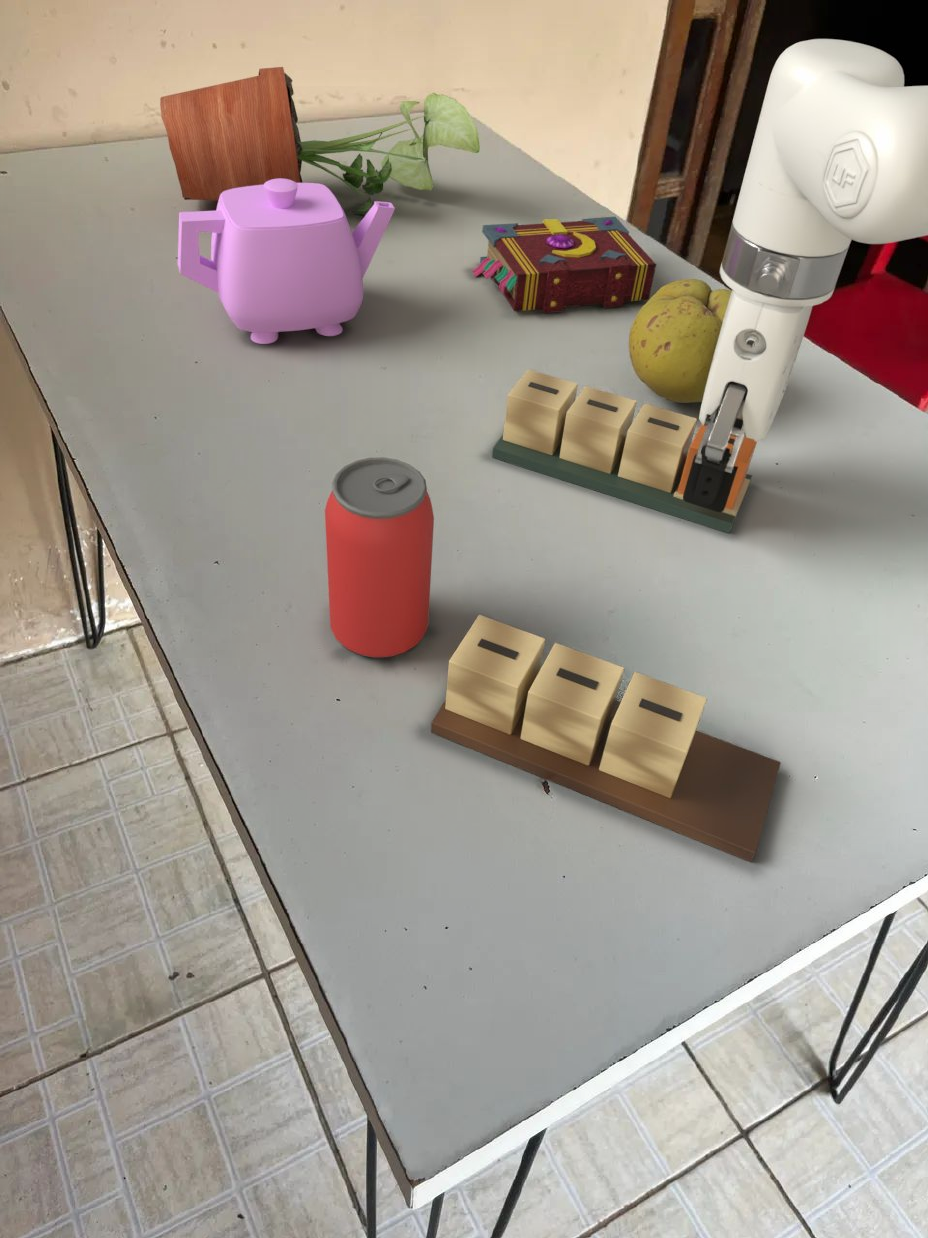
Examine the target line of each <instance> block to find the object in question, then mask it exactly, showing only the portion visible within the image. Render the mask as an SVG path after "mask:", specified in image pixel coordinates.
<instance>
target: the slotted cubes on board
mask: <svg viewBox="0 0 928 1238" xmlns="http://www.w3.org/2000/svg"><path fill="white" fill-rule="evenodd" d="M545 644H546V638H544V637H542V636H540V635H539V636H538V635H536V634H533V633H530V632H528V631H525V630H523V629H521V628H517V627H514V626H512V625H509V624H506V623H503V622H500V621H498V620H495V619H492V618H490V617H487V616H485V615H482V614H479V615H477V617H476V619H475V620H474V622H473V623H472V625H471V626H470V628H469V630H468V631H467V633H466V634H465V636H464V637H463V639H462V640H461V642H460V644H459V645H458V647H457V648H456V650H455V651H454V653H453V654H452V656H451V657H450V659H449V660H448V668H447V669H448V670H447V682H446V696H445V700H444V702H443V703H442V705H441V706H440V708H439V710H438V711H437V713H436V714H435V716H434V717H433V719H432V721H431V725H430V733H432V734H434V735H436V736H439V737H442V738H443V739H447V740H449V741H451V742H454V743H457V744H459V745H462V746H464V747H466V748H469V749H471V750H473V751H476V752H479V753H481V754H484V755H486V756H489V757H491V758H493V759H495V760H498V761H500V762H502V763H503V762H504V763H505V764H508V765H510V766H513V767H515V768H518V769H520V770H523V771H526V772H528V773H531V774H533V775H536V776H537V777H540V778H542V779H545V780H548V781H550V782H552V783H555V784H558V785H560V786H562V787H565V788H567V789H569V790H572V791H575V792H576V793H579V794H582V795H585V796H587V797H590V798H591V799H595V800H597V801H600V802H602V803H605V804H606V805H609V806H612V807H614V808H616V809H619V810H622V811H624V812H627V813H629V814H631V815H633V816H637V817H639V818H641V819H644V820H646V821H649V822H651V823H654V824H657V825H658V826H661V827H664V828H666V829H669V830H671V831H674V832H676V833H678V834H681V835H684V836H686V837H688V838H691V839H693V840H695V841H698V842H700V843H703V844H705V845H708V846H710V847H713V848H715V849H717V850H719V851H720V850H721V851H723V852H725V853H728V854H730V855H732V856H735V857H737V858H740V859H742V860H745V861H747V862H752V861H753V860H754V858H755V855H756V853H757V850H758V846H759V844H760V843H759V842H760V840H761V836H762V832H763V830H764V829H763V828H764V825H765V821H766V818H767V814H768V810H769V806H770V803H771V799H772V795H773V792H774V789H775V785H776V782H777V778H778V774H779V770H780V767H781V764H782V763H781V761H779V760H776V759H774V758H771V757H768V756H766V755H763V754H760V753H757V752H755V751H752V750H749V749H748V748H745V747H742V746H739V745H736V744H734V743H730V742H728V741H726V740H723V739H721V738H718V737H714V736H712V735H710V734H708V733H705V732H702V731H699V730H697V728H698V726H699V723H700V720H701V717H702V716H703V712H704V710H705V706H706V704H707V702H708V698H707V697H705V696H702V695H700V694H697V693H695V692H693V691H689V690H687V689H684V688H681V687H678V686H675V685H673V684H670V683H667V682H664V681H662V680H659V679H656V678H654V677H651V676H648V675H646V674H643V673H640V672H638V671H634V673H633V675H632V677H631V679H630V681H629V683H628V685H627V687H626V690H625V692H624V694H623V697H622V699H621V701H619V700H617V698H618V694H619V692H620V687H621V683H622V679H623V676H624V673H625V667H624V666H621V665H618V664H615V663H613V662H610V661H608V660H604V659H602V658H600V657H597V656H593V655H591V654H589V653H586V652H582V651H580V650H577V649H574V648H571V647H569V646H567V645H564V644H560V643H559V642H555V643H554V644H553V646H552V648H551V649H550V651H549V653H548V655H547V657H546V659H545V660H544V662H543V664H542V661H543V656H544V649H545Z"/></svg>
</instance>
